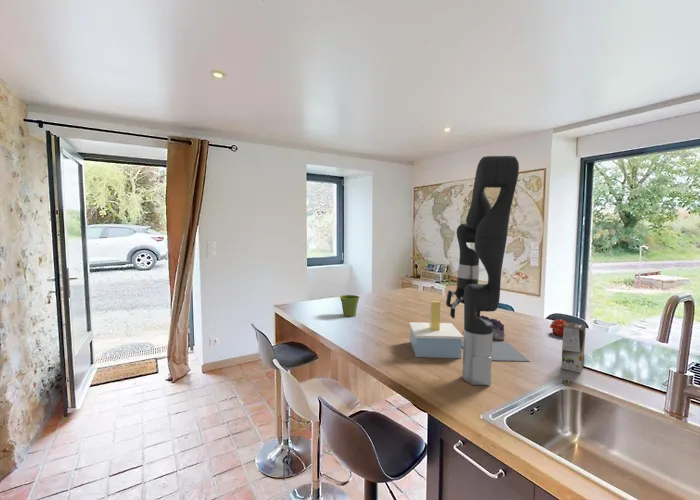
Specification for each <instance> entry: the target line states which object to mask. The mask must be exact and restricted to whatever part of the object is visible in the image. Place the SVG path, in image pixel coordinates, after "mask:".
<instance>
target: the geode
mask: <svg viewBox="0 0 700 500" xmlns="http://www.w3.org/2000/svg"><path fill="white" fill-rule="evenodd" d="M480 318H481V319H484V320H486V321H489V322H490V323H492V325H493V339H492V340H494V341H495V342H505V336H506V334H505V324H504V323H502V322H501V320H498V319H496V318H492V317H491V318H489V317H488V316H485V315H483V314H481V315H480Z"/></svg>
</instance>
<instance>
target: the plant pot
mask: <svg viewBox="0 0 700 500" xmlns="http://www.w3.org/2000/svg"><path fill="white" fill-rule="evenodd" d="M360 298H361V297H360V296H359V295H357V294H356V295H355V294H345V295H340V296H339V299H340V301H341V307H342V313H343V314H342V315H343V316H344V317H345V318H346V317H350V318H352V317H356V315H357V308H358V303H359V300H360Z"/></svg>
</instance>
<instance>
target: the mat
mask: <svg viewBox="0 0 700 500" xmlns="http://www.w3.org/2000/svg"><path fill="white" fill-rule="evenodd" d="M463 347H464V340H462V345H461V349H463ZM492 362H517V363H518V362H524V363H529V362H530V360H529V359H528V358H526V357H525V356H524V355H523V354H522V353H521V352H519V350H517V349H516V348H515V347H513V346H512V345H511V344H509V343H508V342H507V341H492Z"/></svg>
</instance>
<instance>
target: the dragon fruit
mask: <svg viewBox="0 0 700 500" xmlns="http://www.w3.org/2000/svg"><path fill="white" fill-rule="evenodd" d="M567 322H568V321H566V320H564V319H561V318H557V319H555V320H552V321H551V324H550V326H549V328H550V329H552V333H553V334H554V335H555V334H556V335H558V336H559V337H560V338H561V337H562V338H563V326H564V325H565V324H566V323H567Z"/></svg>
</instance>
